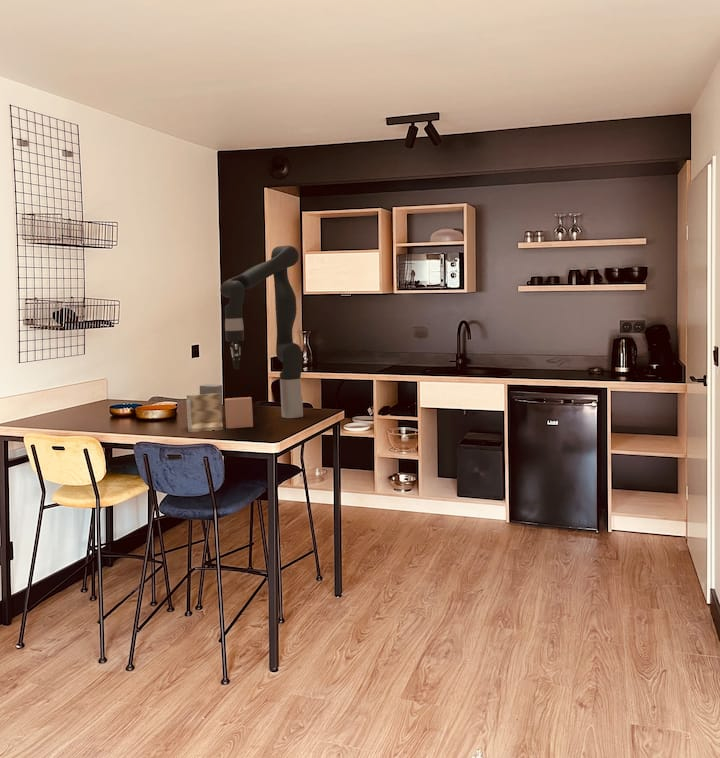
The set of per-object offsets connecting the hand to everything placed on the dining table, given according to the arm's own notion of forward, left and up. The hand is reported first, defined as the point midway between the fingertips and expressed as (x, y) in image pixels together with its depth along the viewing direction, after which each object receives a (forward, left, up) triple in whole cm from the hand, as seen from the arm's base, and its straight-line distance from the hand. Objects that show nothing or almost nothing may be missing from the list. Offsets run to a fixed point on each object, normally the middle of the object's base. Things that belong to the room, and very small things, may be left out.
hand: (236, 368), depth 310 cm
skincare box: (+11, -21, -25) cm, 34 cm away
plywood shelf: (+14, -2, -25) cm, 28 cm away
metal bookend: (+20, -1, -23) cm, 31 cm away
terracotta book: (0, 0, -25) cm, 25 cm away
